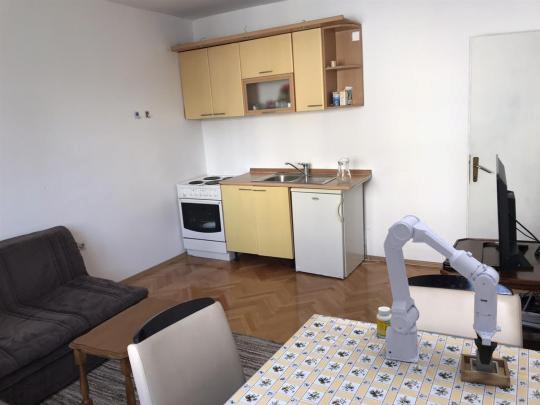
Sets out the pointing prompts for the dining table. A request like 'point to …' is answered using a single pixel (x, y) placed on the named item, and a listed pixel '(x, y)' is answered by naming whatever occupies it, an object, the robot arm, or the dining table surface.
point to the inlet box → (496, 378)
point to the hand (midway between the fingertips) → (484, 356)
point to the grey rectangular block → (483, 367)
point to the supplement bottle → (383, 321)
